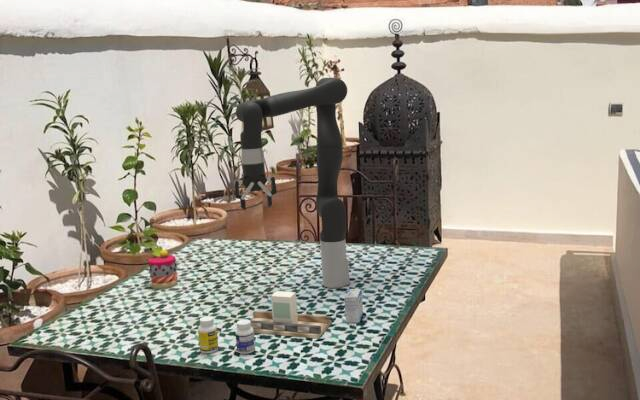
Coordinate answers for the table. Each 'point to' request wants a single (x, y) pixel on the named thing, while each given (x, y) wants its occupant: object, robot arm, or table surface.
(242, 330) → the pill bottle
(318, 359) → the table surface
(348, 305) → the medicine box
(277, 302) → the carton
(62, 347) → the table surface
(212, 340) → the supplement bottle
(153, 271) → the cake
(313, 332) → the shelf ledge
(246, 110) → the robot arm
